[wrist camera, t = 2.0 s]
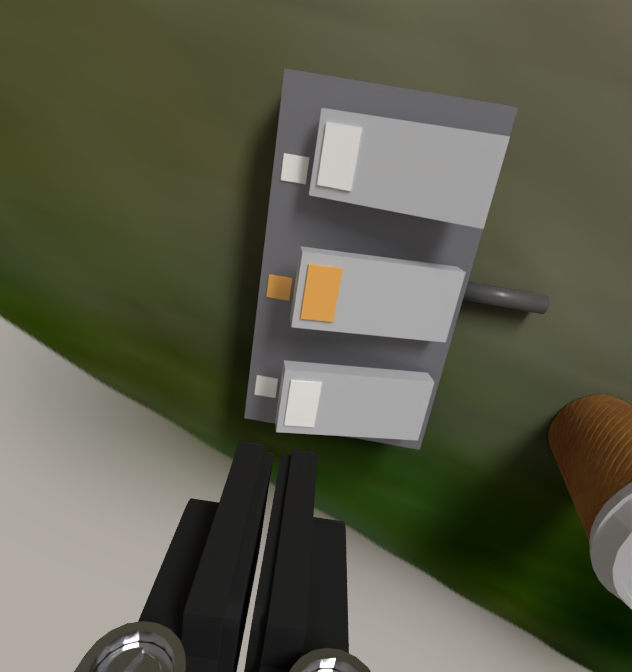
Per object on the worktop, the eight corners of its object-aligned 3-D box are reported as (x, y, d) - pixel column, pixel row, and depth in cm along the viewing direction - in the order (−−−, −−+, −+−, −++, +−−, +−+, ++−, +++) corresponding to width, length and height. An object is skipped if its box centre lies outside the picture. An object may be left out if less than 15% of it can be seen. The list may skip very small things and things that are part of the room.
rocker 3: (427, 372, 29) (435, 383, 28) (411, 429, 31) (418, 441, 30) (283, 360, 28) (285, 370, 26) (275, 421, 29) (276, 433, 28)
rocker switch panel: (598, 130, 27) (637, 127, 24) (492, 432, 35) (508, 466, 32) (294, 79, 28) (284, 68, 24) (256, 390, 36) (243, 418, 32)
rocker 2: (456, 266, 27) (466, 272, 26) (438, 334, 28) (446, 343, 27) (300, 246, 25) (302, 252, 24) (289, 319, 27) (291, 328, 26)
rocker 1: (507, 138, 22) (510, 136, 21) (482, 226, 24) (483, 229, 23) (328, 110, 24) (320, 107, 23) (315, 194, 26) (308, 195, 25)
